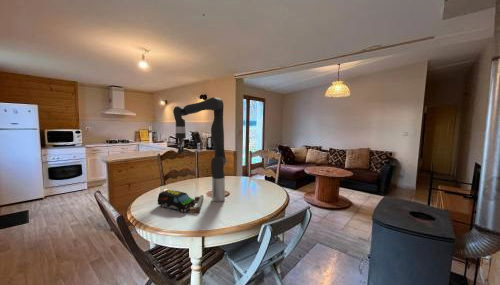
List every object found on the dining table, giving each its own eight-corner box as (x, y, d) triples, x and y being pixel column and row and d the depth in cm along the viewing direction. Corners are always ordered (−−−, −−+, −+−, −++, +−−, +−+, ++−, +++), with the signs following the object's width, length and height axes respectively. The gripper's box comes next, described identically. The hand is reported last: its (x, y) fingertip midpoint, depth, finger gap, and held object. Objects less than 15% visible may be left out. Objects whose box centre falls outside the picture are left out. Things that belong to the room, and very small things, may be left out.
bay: (203, 200, 151) (203, 195, 151) (199, 212, 131) (199, 206, 130) (195, 200, 151) (195, 195, 150) (190, 213, 130) (189, 207, 129)
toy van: (185, 214, 129) (185, 198, 128) (156, 207, 139) (156, 192, 138) (196, 207, 138) (196, 193, 137) (168, 201, 148) (168, 188, 147)
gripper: (183, 133, 153) (183, 154, 155) (187, 132, 167) (187, 151, 169) (173, 132, 152) (173, 154, 154) (177, 131, 166) (178, 151, 168)
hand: (180, 152), depth 161 cm, fingers open, 8 cm apart
